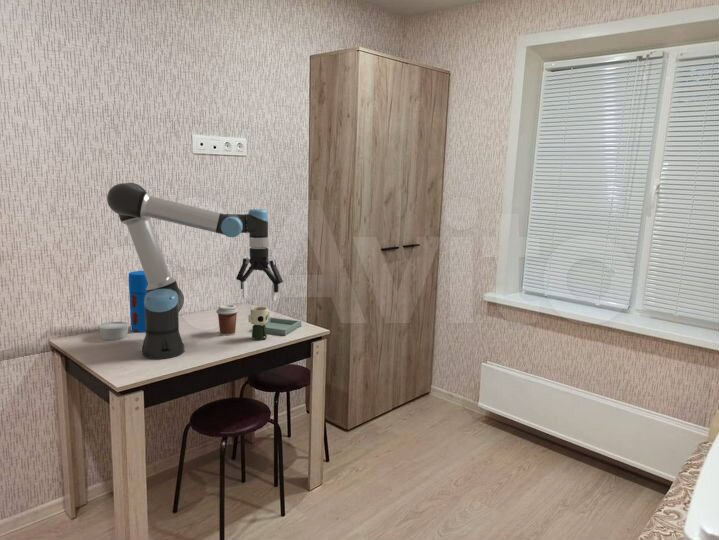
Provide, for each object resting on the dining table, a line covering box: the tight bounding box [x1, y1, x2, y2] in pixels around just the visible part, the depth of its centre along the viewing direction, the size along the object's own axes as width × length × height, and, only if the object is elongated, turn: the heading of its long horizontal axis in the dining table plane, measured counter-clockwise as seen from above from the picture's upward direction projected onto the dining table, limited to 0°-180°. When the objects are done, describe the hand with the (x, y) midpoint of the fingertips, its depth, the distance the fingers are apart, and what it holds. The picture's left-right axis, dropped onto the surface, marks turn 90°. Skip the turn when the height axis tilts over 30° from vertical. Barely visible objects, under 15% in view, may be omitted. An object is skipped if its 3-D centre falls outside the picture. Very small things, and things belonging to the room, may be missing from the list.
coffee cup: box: [215, 304, 239, 337], centre depth 220 cm, size 9×9×12 cm
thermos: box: [128, 270, 148, 333], centre depth 222 cm, size 11×11×25 cm
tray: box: [251, 316, 302, 337], centre depth 230 cm, size 16×16×2 cm
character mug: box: [247, 306, 271, 340], centre depth 214 cm, size 11×7×13 cm, turn 140°
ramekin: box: [98, 321, 130, 341], centre depth 212 cm, size 11×11×5 cm
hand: (259, 298), depth 212 cm, fingers open, 13 cm apart
